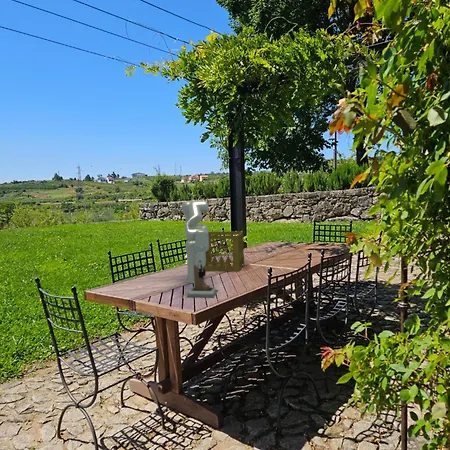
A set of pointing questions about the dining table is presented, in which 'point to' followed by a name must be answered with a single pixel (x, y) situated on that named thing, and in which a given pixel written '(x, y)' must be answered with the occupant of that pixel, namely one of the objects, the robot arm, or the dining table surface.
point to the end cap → (202, 293)
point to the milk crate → (237, 252)
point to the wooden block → (199, 281)
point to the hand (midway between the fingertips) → (202, 276)
